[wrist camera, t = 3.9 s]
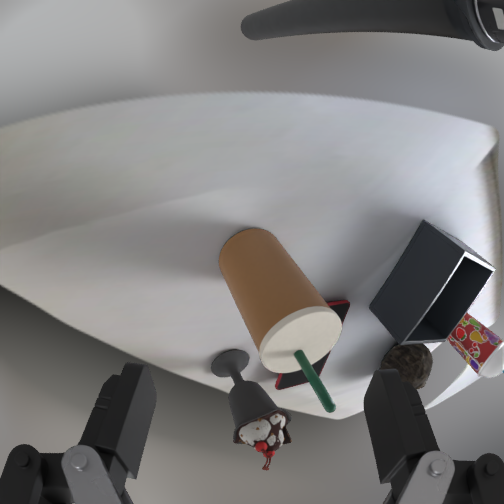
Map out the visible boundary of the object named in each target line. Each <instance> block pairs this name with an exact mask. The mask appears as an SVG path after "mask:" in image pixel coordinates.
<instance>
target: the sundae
mask: <svg viewBox="0 0 504 504" xmlns="http://www.w3.org/2000/svg"><path fill="white" fill-rule="evenodd" d="M248 362H249V356H248V354H247V353H246V352H244V351H241V350H231V351H228V352H225V353H223V354H221V355H220V356H218V357H217V358H216V359H215V360H214V362H213V363H212V366H211V370H212V372H213V374H215V375H216V376H218V377H230V376H231V378H232V379H233V381H234V383H235V385H234V387H233V388H232V389H231V391H230V393H229V397H228V398H229V404H230V408H231V412H232V415H233V418H234V422H235V426H236V429H235V431H234V436H233V439H234V440H233V442H234V443H237V444H248V445H250V446H252V447H254V448H255V449H256V450H257V451H258V452H262V453H263V455H264V456H265V457H266V458H267V461H266V464H267V462H268V458H269V464H268V466H269V465H270V461H271V457H272V456H273V455H274V454H275V452H274V451H276V450H277V449H278V448H279V447H281V445H282V444H287V443H291V442H292V440H291V438H290V435H289V433H288V431H287V429H286V425H287V424H288V423H289V422H290V421H291V414H290V413H289V412H288V411H286V410H285V409H282V408H278V407H277V406H276V404H275V403H274V402H273V401H272V399H271V398H270V397H269V395H268V394H267V393H266V392H265V391H264V389H263V388H262V387H261V386H260V385H259V384H258V383H256V382H252V381H244V380H243V378H242V376H241V374H240V372H241V371H242V370H244V368H245V367H246V366H247V365H248ZM266 464H265V465H264V467H263V468H262V469H263V470H269V468H268V466H267V467H265V466H266Z"/></svg>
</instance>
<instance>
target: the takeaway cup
mask: <svg viewBox="0 0 504 504" xmlns="http://www.w3.org/2000/svg"><path fill="white" fill-rule="evenodd" d="M219 267H220V270H221V272H222V274H223V276H224V279H225V281H226V283H227V285H228V287H229V290H230V292H231V294H232V296H233V298H234V300H235V303H236V305H237V307H238V309H239V311H240V313H241V315H242V318H243V320H244V322H245V324H246V326H247V328H248V330H249V333H250V335H251V337H252V339H253V341H254V343H255V345H256V347H257V349H258V351H259V356H260V359H261V361H262V363H263V365H264V366H265V368H267V369H268V370H270V371H272V372H275V373H289V372H294V371H298V370H301V369H302V370H303V372H304V374H305V376H306V377H307V379H308V381H309V382H310V384H311V386H312V388H313V389H314V391H315V393H316V395H317V396H318V398H319V400H320V402H321V403H322V405H323V407H324V408H325V410H326V411H327V412H329V413H331V412H334V411H335V409H336V405H335V403H334V402H333V400H332V398H331V397H330V395H329V393H328V392H327V390H326V388H325V387H324V385H323V384H322V382H321V380H320V379H319V377H318V375H317V374H316V372H315V370H314V369H313V367H312V364H313V363H315V362H317V361H318V360H320V359H321V358H322V357H324V356H325V355H326V354H327V353H328V352H329V351H330V350H331V349H332V348H333V346H334V345H335V344H336V342H337V341H338V339H339V337H340V334H341V331H342V323H341V320H340V318H339V317H338V315H337V314H336V313H335V312H334V311H333V310H332V309H331V308H330V307H329V306H328V304H327V303H326V302H325V301H324V299H323V298H322V297H321V295H320V294H319V293H318V291H317V290H316V289H315V287H314V286H313V285H312V284H311V282H310V281H309V280H308V278H307V277H306V276H305V275H304V273H303V272H302V271H301V269H300V268H299V267H298V266H297V264H296V263H295V262H294V260H293V259H292V258H291V257H290V255H289V254H288V253H287V251H286V250H285V249H284V248H283V246H282V245H281V244H280V243H279V241H278V240H277V239H276V237H275V236H274V235H273V234H271V233H270V232H268V231H266V230H263V229H247V230H244V231H241V232H239V233H237V234H236V235H234V236H233V237H231V238H230V239H229V240H228V241H227V242H226V244H225V245H224V246H223V248H222V250H221V253H220V256H219Z"/></svg>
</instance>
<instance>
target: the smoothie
mask: <svg viewBox="0 0 504 504" xmlns="http://www.w3.org/2000/svg"><path fill="white" fill-rule="evenodd" d="M447 341H449V343H450V344H451V345H452V346H453V347H454V348H455V349H456V351H457V352H458V353H459V354H460V355H461V356H462V357H463V358H464V360H465V361H466V362H467V363H468V364H469V365H470V366H471V367H472V369H473V370H474V371H475V372H476V373H477V374H478V376H482V377H485V378H493V377H496V376H498V375H500V374H501V373H502V372H503V373H504V341H503V340H502V339H500V338H499V337H498V336H497V335H495V334H494V333H493V332H492V331H490V330H489V329H488V328H486V327H485V326H484V325H483V324H481V323H480V322H479V321H477V320H476V319H475V318H473V317H472V316H471V315H469V314H468V313H466V314H465V316H464V317H463V319H462V320H461V321H460V323H459V324H458V325H457V327H456V328H455V329H454V331H453V332H452V333H451V334H450V336H449V337H448V338H447Z"/></svg>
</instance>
